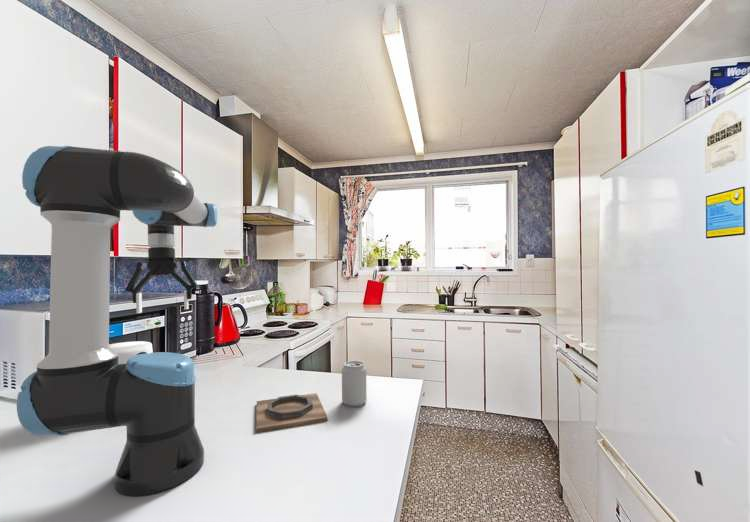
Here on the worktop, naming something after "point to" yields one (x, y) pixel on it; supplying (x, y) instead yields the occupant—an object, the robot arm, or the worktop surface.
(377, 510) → the worktop surface
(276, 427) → the ring board
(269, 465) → the worktop surface
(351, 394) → the can
